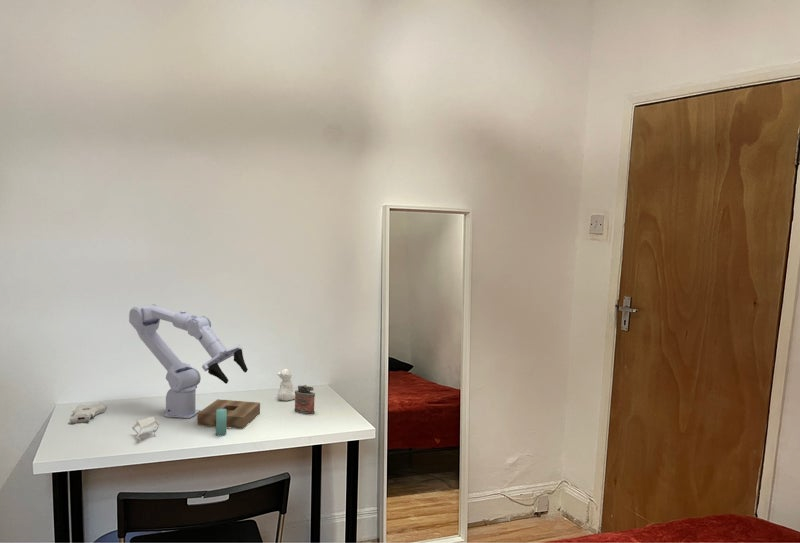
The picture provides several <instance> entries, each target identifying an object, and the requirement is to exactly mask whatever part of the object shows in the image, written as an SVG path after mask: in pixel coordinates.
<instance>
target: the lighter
mask: <svg viewBox="0 0 800 543" xmlns="http://www.w3.org/2000/svg"><path fill="white" fill-rule="evenodd" d="M313 391H314V387H313V386H310V385H306V384H304V385H300V384H299V385H297V390H295V391H294V392H295V399H294V409H293V411H295V412H294V413H297V412H298V413H297V414H301V413H303V415H307V414H313V415H315V412H316V411H315V398H316V393H315V392H313Z"/></svg>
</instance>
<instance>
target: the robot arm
mask: <svg viewBox="0 0 800 543" xmlns="http://www.w3.org/2000/svg"><path fill="white" fill-rule="evenodd" d="M128 314H129V315H128V321H129V323H130V325H131V326H132V327H133V328H134V330H135V331H136V332H137V335H138V337H139V338H140V340H141V341H142V342H143V344H144V345H145V346H146V347H147V348H148V349H149V351H150V352H151V353H152V355H153V356H155V358H156V359H157V360H158V362H159V363H160V364H161V365H162V367H163V368H164V369H165V370H166V371H167V372H166V374H165V380H166V381H167V382H168V385H169V388H170V389H168V390H167V391H166V394H165V395H166V396H165V414H164V417H168V418H169V417H170V418H181V419H192V418H193V417H194V416H197V413H199V412H200V411H201V410H200V409H196V394H197V393H196V391H197V390H196V389H197V388H198V385H200V384H201V383H200V382H201V379H202V378H201V373H200V371H199V370H198V369H197V368H195V367H193V366H192V365H191V364H190V363H186V362H183V361H181V360H180V359H179V357H178V356H177V355H176V353H174V351H173V350H172V349H171V348H170V347H169V345H168V344H167V343H166V342H165V341H164V339H163V338H162V336H160V335H159V333H158V332H157V330H159V327H160V323H161V321H166V322H169V323H171V324H172V325H173V326H174V327H175V328H176V329H180V330H183V331H186V332H187V334H188V335H189V336H191V337H194V338H195V339H196V340H197V341H198V342H199V343H200V345H201V346H202V348H204V349H205V351H206V353H207V354H208V355H209V357H210V358H211V359H209V360H208V361H206V362H204V363H203V364H202V366H201V368H202V369H203V371H204V372H207V373H208V374H209V375H211V376H213V377H216V378H218V380H220V381H222V382H223V383H224V384H228V382H229V379H228V377H227V376H226V374H225V373H224V372H223V371H222V368H221V367H220V365H219V364H221V363H222V362H224V361H226V360H227V359H230V358H231V357H233V361H234V362H235V363H236V365H237V366H239V368H240V369H241V370H242V371H243V372H244V373H247V372H248V367H247V365H246V361H245V359H244V354H243V347H242V346H241V345H240V344H238V345H236V346H233V347H230V348H227V347H226V345H225V344H224V343H223V342H222V341H221V339H220V338H219V337H218V335H217V334H216V333H215V331H214V330H213V328H212V323H211V320H210V319H209V318H208V317H206V316H205V315H203V316H200V317H198V316H197V315H196V314H189V313H187V311H185V310H180V311H177V312H174V311H172V310H170V309H167V308H164V307H162V306H161V305H160V304H155V303H154V304H150V305H143V306H133V307H132V308H130V311H129V313H128Z"/></svg>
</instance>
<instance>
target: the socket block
mask: <svg viewBox="0 0 800 543" xmlns="http://www.w3.org/2000/svg"><path fill="white" fill-rule="evenodd" d="M217 409H226V410H227V419H226V427H231V428H230V429H238V428H244V427H245V426H246V425H247V424H248V423H249V424H250V423H251V422H252V421H253V420H255V419H256V418H257V417H258V416H259V415H260V414H261V402H255V401H241V400H231V399H216V400H215V401H213V402H212V403H210V404H209V405H207V406H205V407H204V408H203V409H202V410H200V412H198V413H197V414H196V417H197V419H196V420H197V421H196V422H197V423H196V425H197V426H202V425H204V427H214V426H216V410H217ZM258 414H259V415H258ZM257 415H258V416H257ZM256 416H257V417H256ZM255 417H256V418H255ZM249 424H248V425H249ZM248 425H247V426H248ZM247 426H246V427H247ZM246 427H245V428H246ZM245 428H244V429H245Z"/></svg>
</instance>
